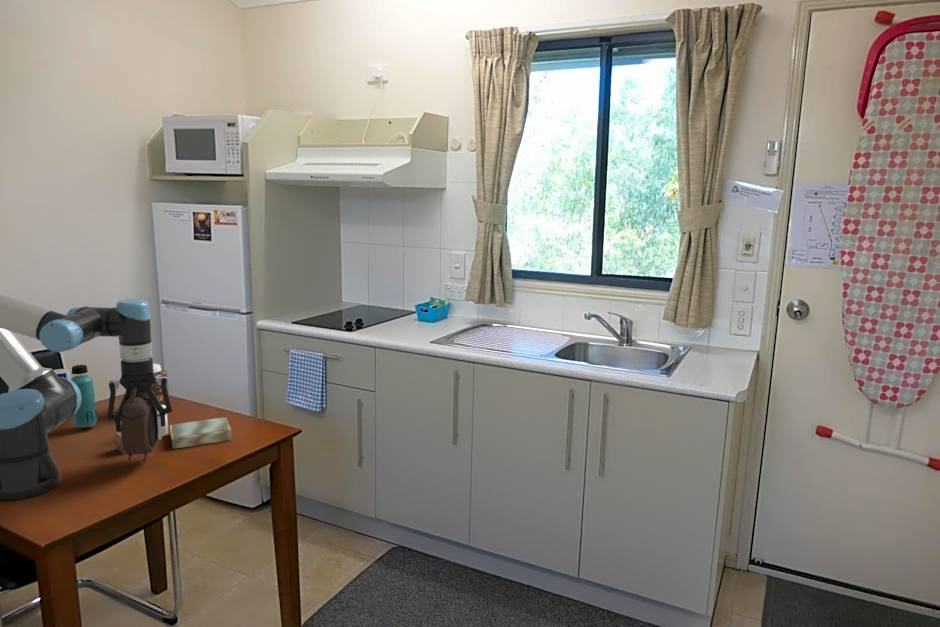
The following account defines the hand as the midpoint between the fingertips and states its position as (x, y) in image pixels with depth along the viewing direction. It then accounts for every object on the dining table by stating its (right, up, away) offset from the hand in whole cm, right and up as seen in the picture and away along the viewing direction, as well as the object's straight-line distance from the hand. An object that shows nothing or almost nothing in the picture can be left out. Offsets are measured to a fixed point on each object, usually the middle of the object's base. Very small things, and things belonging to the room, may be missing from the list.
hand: (142, 440), depth 175 cm
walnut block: (-9, -5, +10) cm, 14 cm away
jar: (-18, +2, +41) cm, 45 cm away
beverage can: (-43, +1, +36) cm, 56 cm away
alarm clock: (0, -4, +1) cm, 5 cm away
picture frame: (+8, -3, +19) cm, 21 cm away
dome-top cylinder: (-7, -2, +22) cm, 23 cm away
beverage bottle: (-30, -1, +25) cm, 39 cm away
